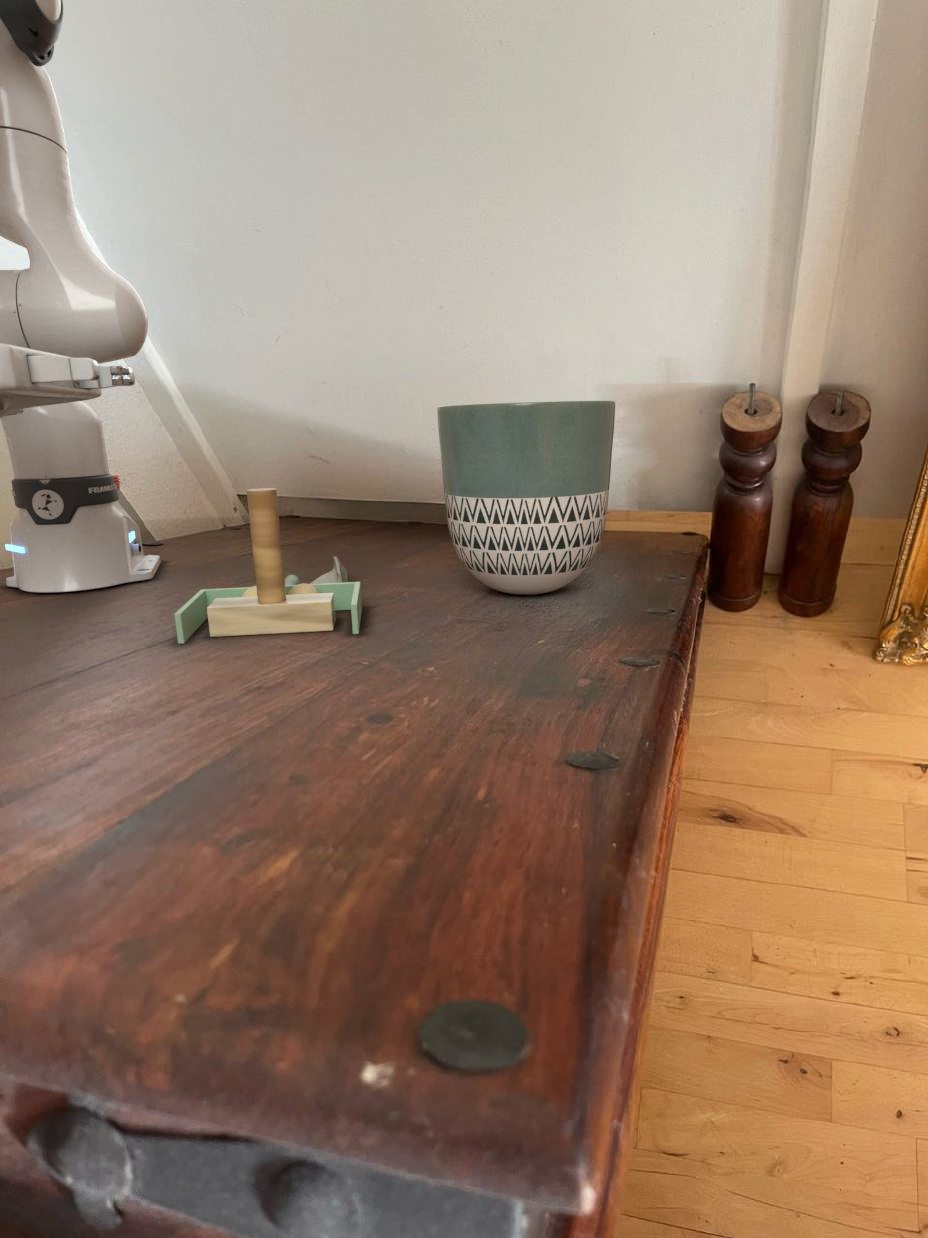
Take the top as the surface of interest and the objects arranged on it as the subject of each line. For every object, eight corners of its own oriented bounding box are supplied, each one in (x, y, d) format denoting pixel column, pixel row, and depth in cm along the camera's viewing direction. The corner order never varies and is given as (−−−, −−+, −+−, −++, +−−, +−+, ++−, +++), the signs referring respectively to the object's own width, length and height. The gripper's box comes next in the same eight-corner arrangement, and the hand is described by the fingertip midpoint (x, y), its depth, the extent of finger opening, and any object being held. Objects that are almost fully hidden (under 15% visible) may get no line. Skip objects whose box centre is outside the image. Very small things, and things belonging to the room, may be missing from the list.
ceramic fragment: (350, 600, 86) (348, 567, 85) (305, 603, 85) (302, 570, 84) (344, 578, 100) (342, 550, 99) (305, 581, 99) (303, 552, 98)
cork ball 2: (283, 585, 77) (285, 619, 78) (318, 584, 78) (320, 618, 78) (288, 582, 81) (290, 615, 81) (322, 581, 81) (323, 614, 82)
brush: (218, 626, 77) (202, 489, 73) (335, 620, 78) (325, 485, 74) (210, 637, 73) (192, 493, 70) (333, 630, 74) (322, 488, 71)
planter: (609, 574, 97) (613, 402, 91) (612, 612, 78) (617, 398, 72) (459, 573, 100) (454, 407, 95) (427, 609, 81) (419, 405, 76)
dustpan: (221, 597, 90) (218, 573, 89) (364, 590, 92) (362, 566, 91) (177, 644, 71) (173, 613, 70) (358, 634, 73) (356, 604, 72)
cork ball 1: (235, 587, 77) (238, 622, 78) (270, 586, 77) (273, 620, 78) (243, 584, 81) (246, 617, 81) (277, 583, 81) (279, 616, 81)
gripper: (-130, 324, 56) (62, 321, 57) (4, 349, 76) (144, 346, 77) (-110, 411, 58) (75, 406, 59) (16, 413, 77) (153, 409, 79)
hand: (115, 372), depth 68 cm, fingers open, 8 cm apart
